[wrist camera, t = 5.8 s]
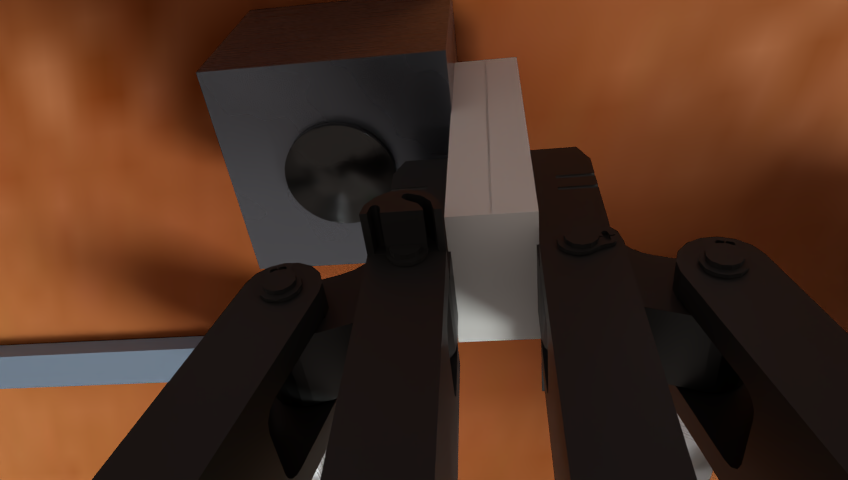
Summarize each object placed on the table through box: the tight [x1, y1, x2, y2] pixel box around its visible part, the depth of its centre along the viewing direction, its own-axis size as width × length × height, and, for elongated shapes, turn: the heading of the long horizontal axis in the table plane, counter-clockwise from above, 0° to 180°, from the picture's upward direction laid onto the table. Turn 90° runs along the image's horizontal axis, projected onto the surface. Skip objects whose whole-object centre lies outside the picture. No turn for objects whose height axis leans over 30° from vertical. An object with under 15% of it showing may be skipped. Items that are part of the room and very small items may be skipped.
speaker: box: [196, 0, 457, 269], centre depth 16 cm, size 5×5×4 cm
